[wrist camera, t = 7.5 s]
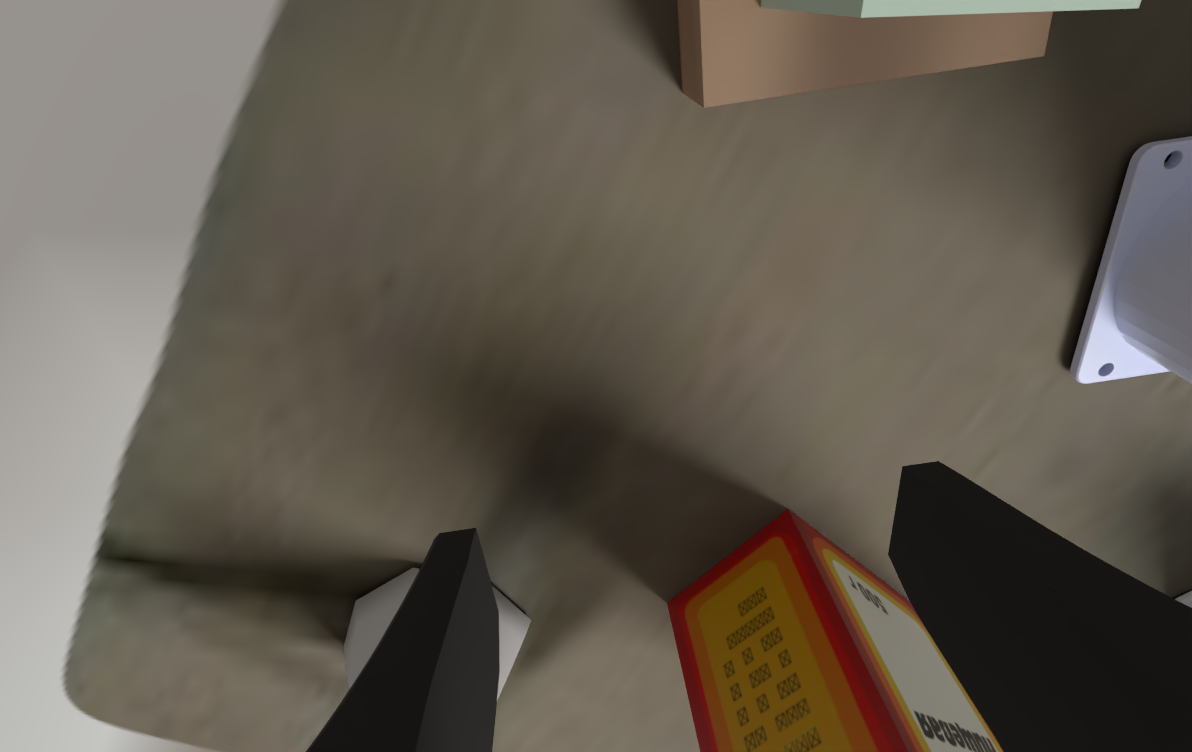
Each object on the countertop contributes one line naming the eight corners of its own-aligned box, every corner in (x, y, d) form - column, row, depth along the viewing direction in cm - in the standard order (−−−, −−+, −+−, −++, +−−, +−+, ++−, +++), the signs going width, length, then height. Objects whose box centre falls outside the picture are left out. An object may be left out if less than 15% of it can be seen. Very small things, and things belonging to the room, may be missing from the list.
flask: (465, 703, 30) (439, 995, 21) (313, 647, 27) (212, 954, 18) (562, 610, 27) (576, 898, 19) (405, 537, 25) (337, 834, 16)
